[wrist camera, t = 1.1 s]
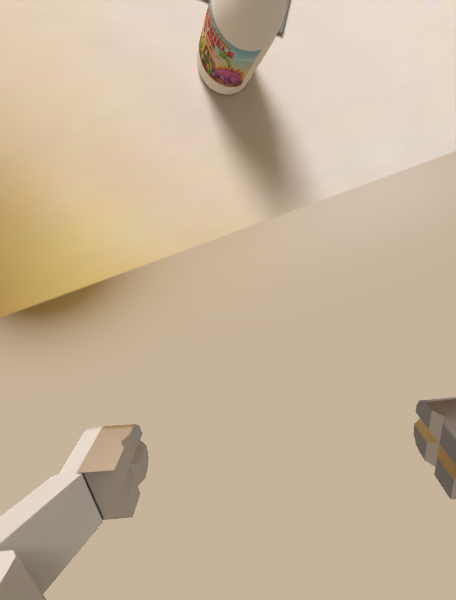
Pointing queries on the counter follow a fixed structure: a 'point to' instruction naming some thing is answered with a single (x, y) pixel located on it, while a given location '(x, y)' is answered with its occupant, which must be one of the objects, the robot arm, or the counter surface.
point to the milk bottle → (236, 41)
